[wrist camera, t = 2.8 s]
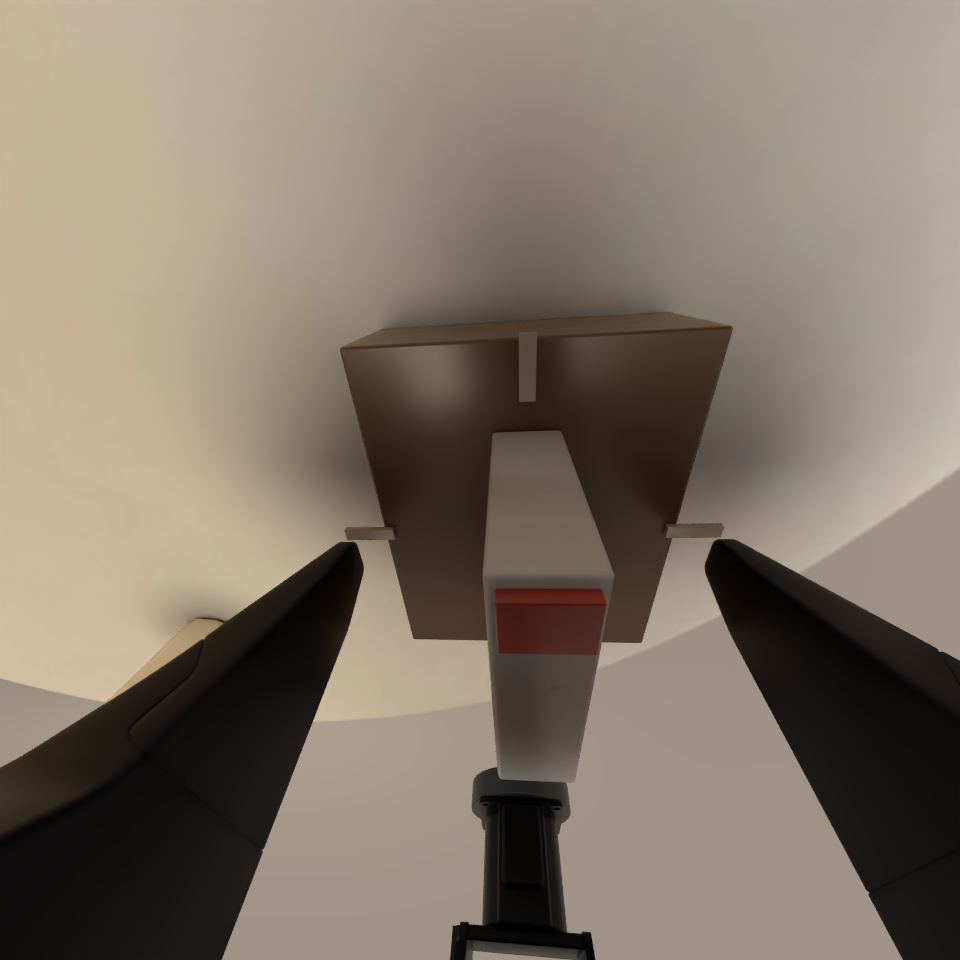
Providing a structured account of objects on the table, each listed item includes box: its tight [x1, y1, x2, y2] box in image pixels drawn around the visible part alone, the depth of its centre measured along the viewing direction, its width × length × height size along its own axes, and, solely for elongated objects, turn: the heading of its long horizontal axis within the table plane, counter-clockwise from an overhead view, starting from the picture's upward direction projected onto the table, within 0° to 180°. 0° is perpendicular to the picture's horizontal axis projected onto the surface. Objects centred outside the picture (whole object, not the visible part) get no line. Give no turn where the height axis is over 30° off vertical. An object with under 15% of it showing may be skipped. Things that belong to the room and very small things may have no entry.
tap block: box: [340, 312, 733, 643], centre depth 11 cm, size 10×10×3 cm
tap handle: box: [483, 430, 615, 783], centre depth 7 cm, size 6×2×5 cm, turn 4°
